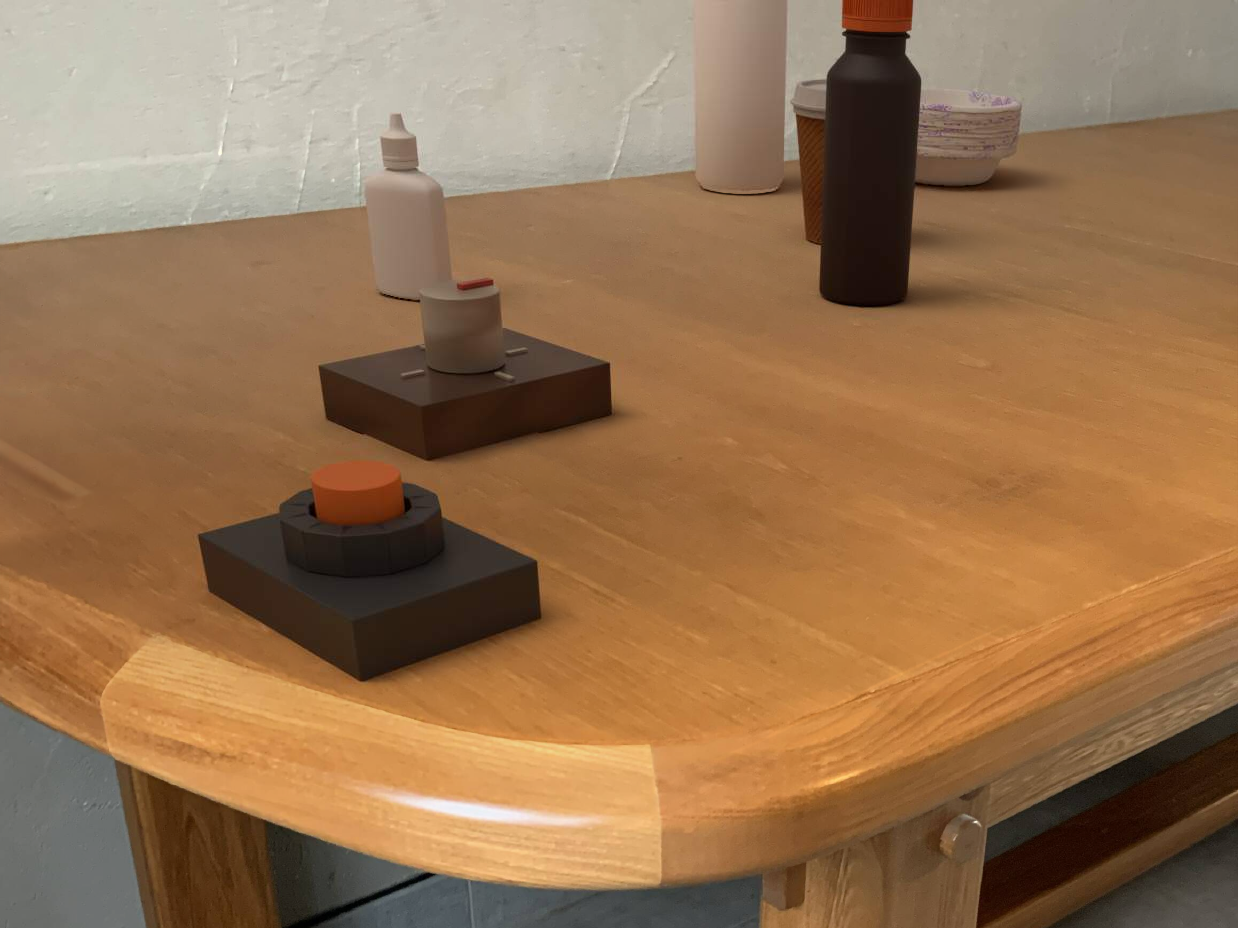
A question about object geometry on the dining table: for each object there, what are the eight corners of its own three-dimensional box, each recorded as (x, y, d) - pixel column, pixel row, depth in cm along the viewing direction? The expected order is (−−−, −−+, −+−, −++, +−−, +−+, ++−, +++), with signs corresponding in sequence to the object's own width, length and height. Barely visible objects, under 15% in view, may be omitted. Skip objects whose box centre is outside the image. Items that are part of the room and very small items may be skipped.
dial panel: (427, 462, 81) (420, 403, 79) (325, 418, 87) (317, 362, 85) (612, 414, 89) (610, 359, 87) (508, 376, 95) (504, 324, 93)
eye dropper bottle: (424, 283, 114) (405, 106, 107) (460, 299, 110) (443, 116, 104) (370, 290, 112) (348, 110, 105) (405, 306, 108) (385, 120, 101)
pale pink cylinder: (777, 179, 155) (784, -176, 138) (788, 196, 148) (797, -177, 131) (692, 178, 154) (688, -180, 137) (698, 195, 147) (696, -182, 130)
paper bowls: (1041, 180, 160) (1050, 96, 156) (962, 198, 150) (970, 109, 146) (922, 161, 168) (928, 81, 163) (840, 177, 158) (844, 92, 153)
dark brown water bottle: (861, 281, 119) (875, -12, 108) (925, 298, 115) (947, -5, 104) (800, 293, 115) (808, -10, 104) (864, 311, 111) (881, -2, 100)
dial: (457, 378, 84) (449, 297, 81) (411, 361, 86) (402, 282, 84) (520, 364, 86) (515, 285, 84) (474, 348, 89) (467, 271, 86)
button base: (361, 683, 60) (345, 576, 57) (208, 592, 66) (188, 493, 64) (542, 619, 65) (535, 519, 63) (384, 541, 72) (372, 447, 69)
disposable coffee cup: (781, 247, 129) (784, 89, 122) (793, 225, 136) (797, 75, 130) (892, 254, 128) (902, 95, 121) (898, 231, 136) (908, 81, 129)
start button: (347, 537, 61) (341, 495, 60) (300, 513, 63) (293, 472, 62) (422, 516, 64) (417, 475, 63) (374, 493, 66) (368, 454, 65)
